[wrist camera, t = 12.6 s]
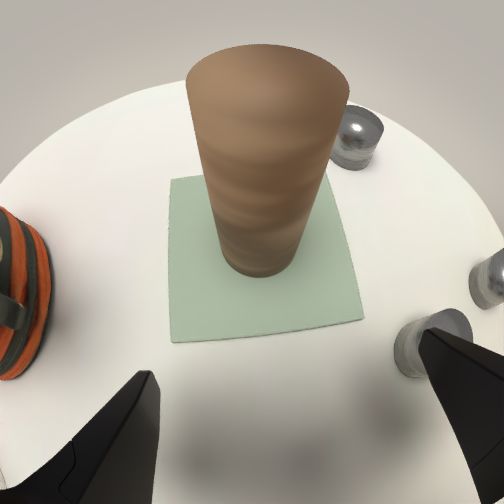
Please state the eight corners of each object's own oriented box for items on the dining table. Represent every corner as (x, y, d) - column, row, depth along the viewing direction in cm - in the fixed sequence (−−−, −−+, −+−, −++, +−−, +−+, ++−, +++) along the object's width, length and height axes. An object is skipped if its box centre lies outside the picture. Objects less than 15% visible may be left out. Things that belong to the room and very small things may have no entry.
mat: (173, 343, 16) (170, 342, 15) (172, 183, 21) (170, 179, 20) (361, 319, 17) (364, 318, 16) (322, 170, 21) (323, 166, 21)
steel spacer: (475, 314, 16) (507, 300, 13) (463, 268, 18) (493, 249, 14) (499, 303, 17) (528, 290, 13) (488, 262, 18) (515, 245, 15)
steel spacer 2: (397, 384, 15) (431, 385, 11) (389, 328, 16) (421, 316, 13) (441, 367, 15) (476, 363, 11) (432, 316, 17) (466, 302, 13)
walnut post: (223, 282, 17) (180, 131, 6) (218, 212, 19) (190, 50, 8) (303, 273, 17) (375, 124, 6) (289, 205, 19) (321, 46, 8)
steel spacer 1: (333, 170, 21) (346, 136, 18) (321, 137, 23) (329, 103, 19) (374, 170, 22) (391, 138, 18) (360, 138, 23) (372, 107, 20)
